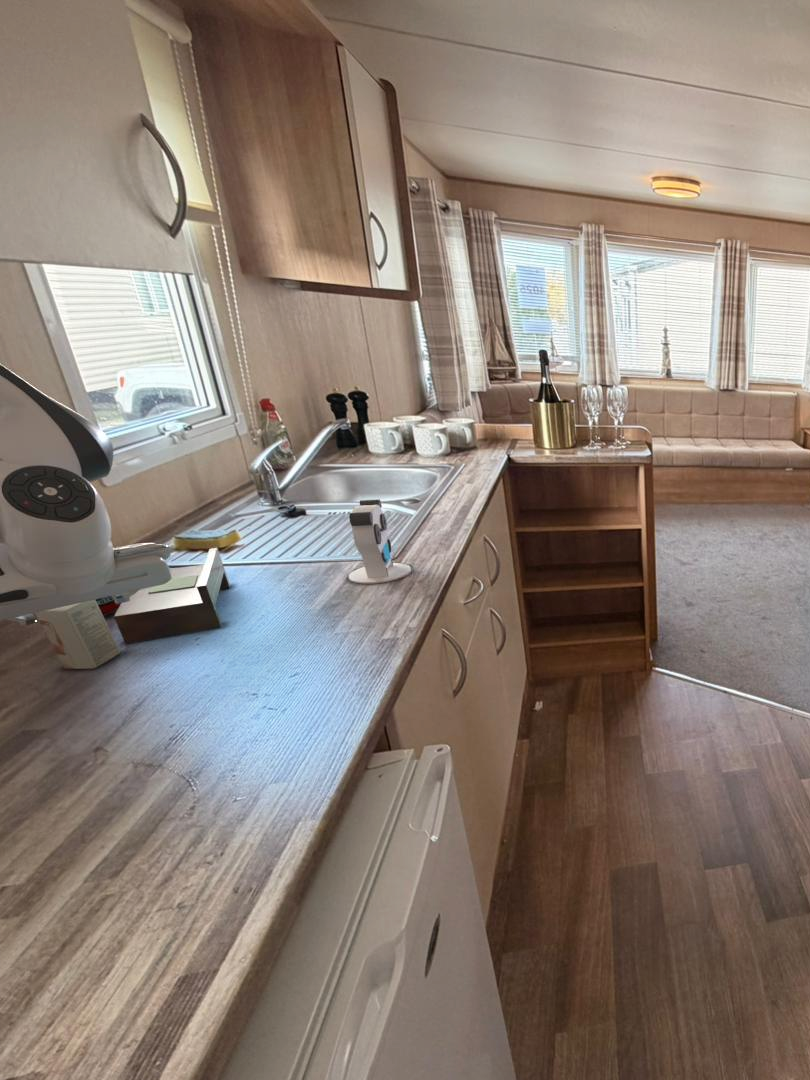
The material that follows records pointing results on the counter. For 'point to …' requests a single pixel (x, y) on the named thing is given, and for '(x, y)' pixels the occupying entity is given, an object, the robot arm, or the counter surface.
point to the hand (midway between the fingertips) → (75, 609)
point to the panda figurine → (373, 545)
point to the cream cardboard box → (79, 635)
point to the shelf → (175, 603)
